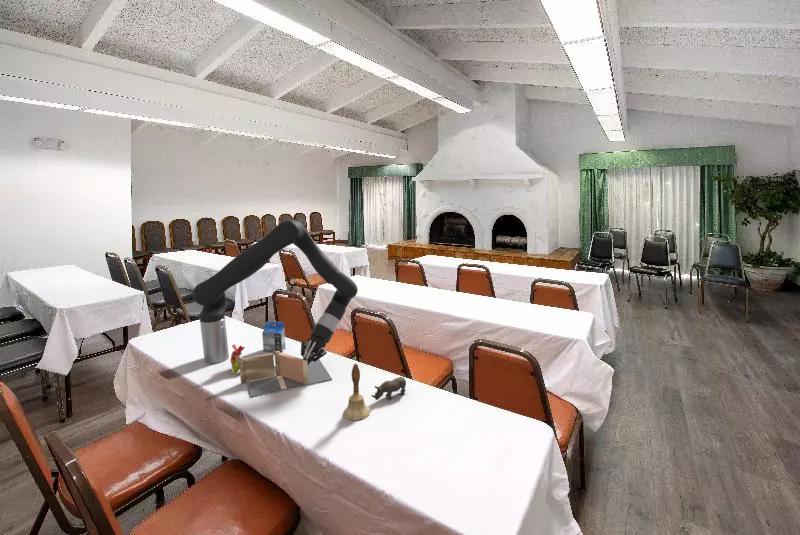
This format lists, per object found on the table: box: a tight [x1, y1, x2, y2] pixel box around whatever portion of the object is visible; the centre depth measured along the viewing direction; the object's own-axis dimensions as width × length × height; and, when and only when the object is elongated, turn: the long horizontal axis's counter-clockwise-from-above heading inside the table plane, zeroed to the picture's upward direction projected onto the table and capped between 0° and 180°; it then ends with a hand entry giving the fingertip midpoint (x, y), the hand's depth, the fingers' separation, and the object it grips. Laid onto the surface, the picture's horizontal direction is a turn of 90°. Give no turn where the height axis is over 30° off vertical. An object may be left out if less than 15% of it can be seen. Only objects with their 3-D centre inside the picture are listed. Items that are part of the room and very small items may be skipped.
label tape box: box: [261, 321, 287, 353], centre depth 174 cm, size 9×4×12 cm, turn 80°
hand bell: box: [342, 363, 371, 421], centre depth 123 cm, size 8×8×16 cm
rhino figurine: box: [371, 376, 407, 401], centre depth 133 cm, size 4×14×6 cm, turn 124°
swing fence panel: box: [278, 352, 309, 386], centre depth 145 cm, size 2×14×8 cm, turn 57°
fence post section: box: [239, 351, 281, 384], centre depth 147 cm, size 2×14×9 cm, turn 115°
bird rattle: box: [230, 344, 246, 375], centre depth 154 cm, size 6×11×9 cm
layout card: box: [247, 358, 333, 398], centre depth 150 cm, size 21×28×1 cm
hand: (301, 369), depth 144 cm, fingers closed
